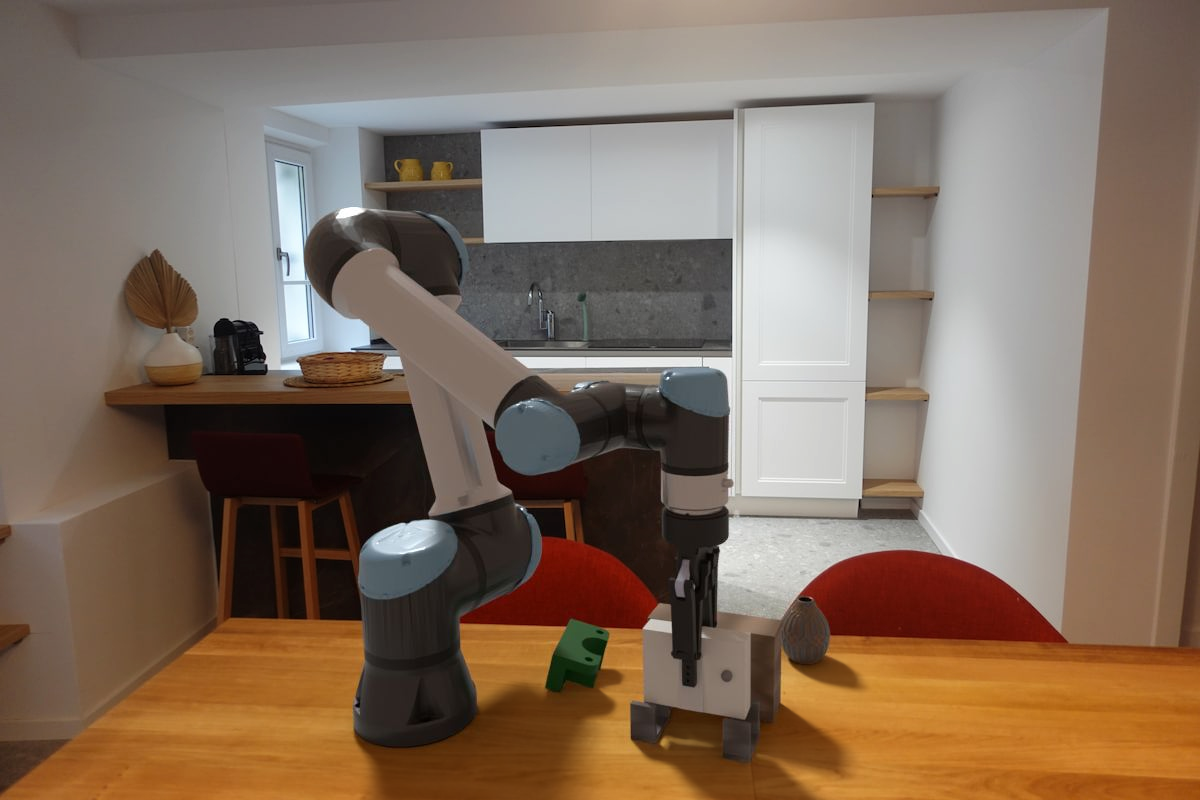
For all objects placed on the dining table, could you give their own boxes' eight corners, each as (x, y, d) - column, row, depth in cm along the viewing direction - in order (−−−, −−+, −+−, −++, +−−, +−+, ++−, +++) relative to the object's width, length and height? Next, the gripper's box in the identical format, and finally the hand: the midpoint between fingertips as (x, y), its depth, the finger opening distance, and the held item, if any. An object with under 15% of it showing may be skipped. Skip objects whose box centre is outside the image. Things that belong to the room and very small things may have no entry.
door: (642, 703, 95) (640, 630, 94) (651, 689, 98) (650, 618, 97) (743, 721, 90) (743, 645, 89) (750, 706, 94) (750, 632, 92)
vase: (770, 651, 117) (771, 593, 116) (812, 644, 119) (813, 587, 118) (795, 672, 110) (796, 611, 109) (839, 665, 112) (841, 604, 111)
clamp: (584, 721, 107) (593, 678, 102) (541, 708, 108) (548, 664, 103) (606, 652, 117) (615, 609, 112) (566, 640, 118) (574, 597, 113)
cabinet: (622, 736, 96) (621, 648, 94) (660, 681, 109) (659, 603, 107) (758, 765, 90) (759, 671, 88) (780, 702, 103) (781, 620, 101)
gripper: (709, 529, 82) (710, 743, 86) (743, 490, 97) (742, 675, 100) (639, 522, 85) (643, 730, 88) (683, 486, 100) (684, 665, 103)
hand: (696, 700), depth 94 cm, fingers closed on door, 3 cm apart
